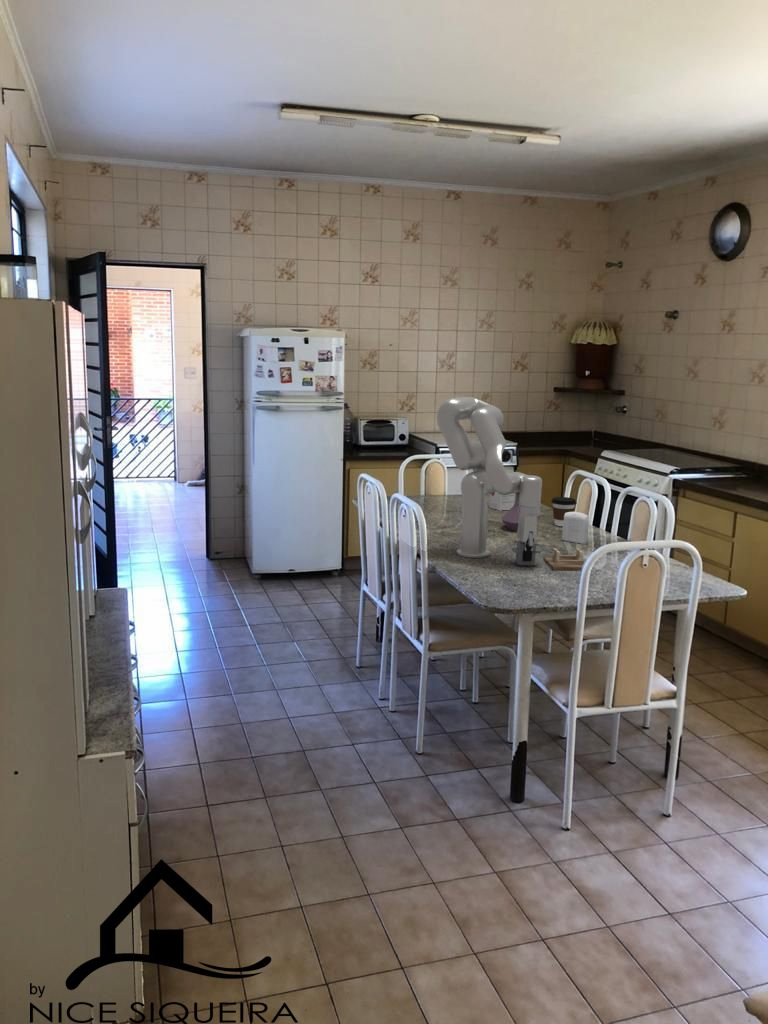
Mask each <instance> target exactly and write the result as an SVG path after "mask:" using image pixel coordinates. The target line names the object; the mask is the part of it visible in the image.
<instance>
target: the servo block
mask: <svg viewBox="0 0 768 1024" xmlns="http://www.w3.org/2000/svg"><path fill="white" fill-rule="evenodd" d="M526 542H529V540H528V541H526ZM527 545H528V544H527ZM526 547H527V546H526ZM523 550H524V543H522V542H521V541H520V540H517V542H516V547H511V551H512V552H513V553H514V554H516V555H515V563H516V564H517V566H536V565H535V563H536V554H541V550H540V549H539V548H538V547H537V543H536V541H535V542H534V543H533V549H532V561H523Z"/></svg>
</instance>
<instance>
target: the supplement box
mask: <svg viewBox="0 0 768 1024" xmlns="http://www.w3.org/2000/svg"><path fill="white" fill-rule="evenodd" d="M515 500H516V493H513V494H509V495H500V494H499V493H497V492H494V493H491V494H489V505H488V508H489V507H491V508H494V509H497V510H500V511H499V512H502V511H501V510H509V509H511V508H512V507H513V506H514V503H515ZM491 508H490V509H491ZM494 509H493V510H494ZM497 510H496V511H497Z"/></svg>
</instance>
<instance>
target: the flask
mask: <svg viewBox="0 0 768 1024" xmlns="http://www.w3.org/2000/svg"><path fill="white" fill-rule="evenodd" d="M519 498H520V492H518V493H516V495H515V503H514V506H513V507H512V508H511V509H510V510H509V511H507V512H506V513H504V514H503V515H502V517H501V518H500V519H501V521H502V523H503V524H504V525H505V527H506V528H507V529H508V530H509V529H510V531H512V530H514V531H513V532H517V530H518V522H519V515H520V514H518V511H519Z"/></svg>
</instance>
